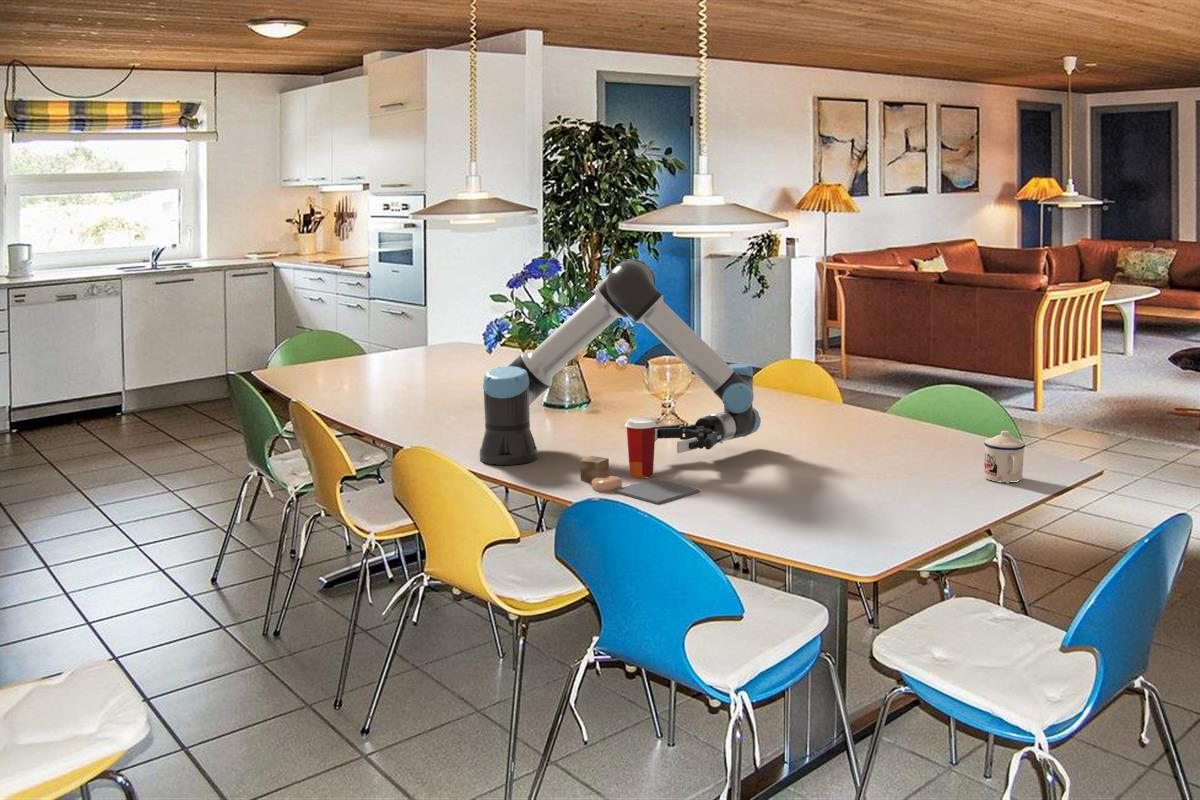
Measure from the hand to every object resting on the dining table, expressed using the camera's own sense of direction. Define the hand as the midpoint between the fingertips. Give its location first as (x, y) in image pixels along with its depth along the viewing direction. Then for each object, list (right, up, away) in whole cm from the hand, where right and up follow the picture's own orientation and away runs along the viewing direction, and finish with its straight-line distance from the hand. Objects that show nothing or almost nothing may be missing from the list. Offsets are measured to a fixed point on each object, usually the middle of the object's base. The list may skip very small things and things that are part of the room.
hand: (657, 443), depth 278 cm
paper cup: (-4, -8, -2) cm, 9 cm away
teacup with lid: (+82, -9, -11) cm, 83 cm away
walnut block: (-16, -9, -4) cm, 18 cm away
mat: (-1, -11, -16) cm, 20 cm away
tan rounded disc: (-13, -10, -12) cm, 20 cm away
